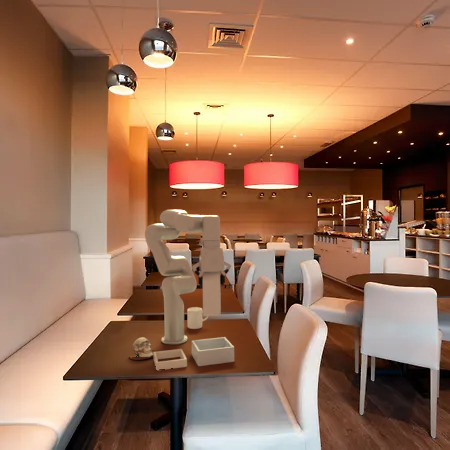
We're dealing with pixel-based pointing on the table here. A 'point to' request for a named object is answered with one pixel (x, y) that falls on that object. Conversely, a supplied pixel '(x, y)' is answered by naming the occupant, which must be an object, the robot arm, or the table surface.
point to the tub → (212, 351)
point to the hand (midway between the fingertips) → (211, 285)
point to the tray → (171, 363)
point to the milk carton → (211, 294)
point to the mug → (195, 317)
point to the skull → (142, 349)
